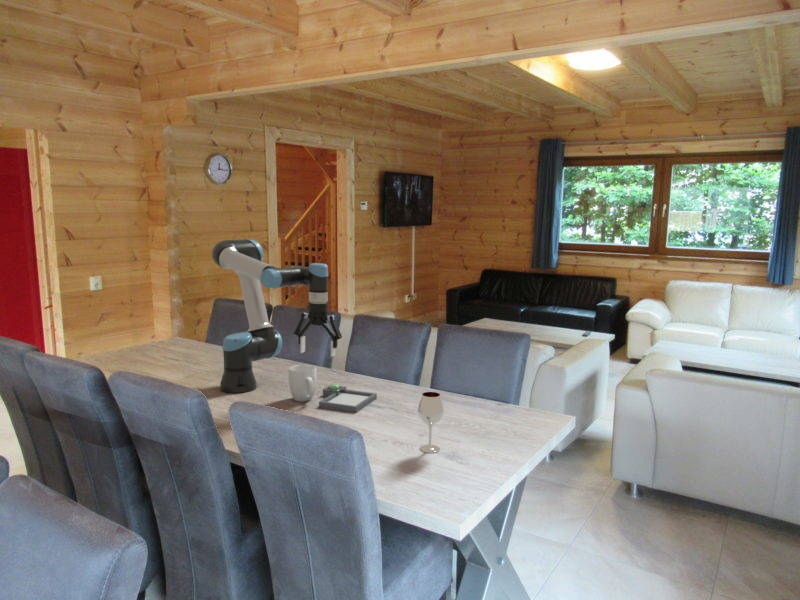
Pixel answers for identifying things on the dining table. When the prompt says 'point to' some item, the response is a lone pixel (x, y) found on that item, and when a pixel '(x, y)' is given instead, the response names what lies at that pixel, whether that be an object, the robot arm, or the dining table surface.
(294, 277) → the robot arm
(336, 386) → the button
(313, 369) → the mug
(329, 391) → the grey square frame
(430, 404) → the wineglass
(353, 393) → the tray
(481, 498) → the dining table surface
